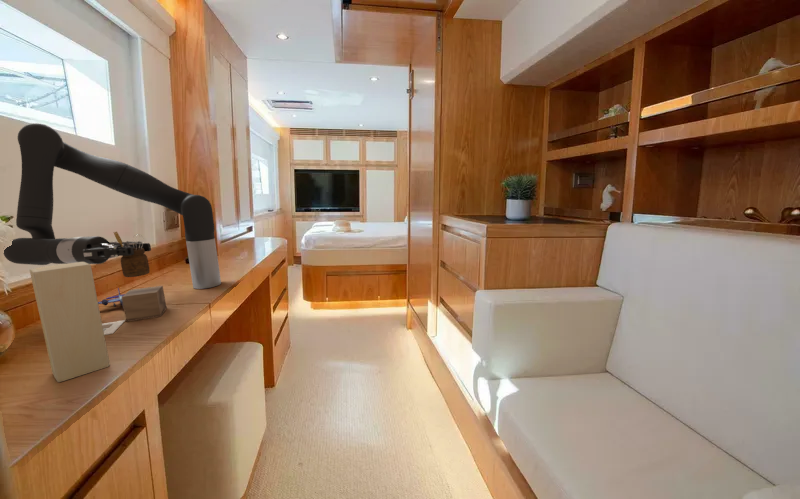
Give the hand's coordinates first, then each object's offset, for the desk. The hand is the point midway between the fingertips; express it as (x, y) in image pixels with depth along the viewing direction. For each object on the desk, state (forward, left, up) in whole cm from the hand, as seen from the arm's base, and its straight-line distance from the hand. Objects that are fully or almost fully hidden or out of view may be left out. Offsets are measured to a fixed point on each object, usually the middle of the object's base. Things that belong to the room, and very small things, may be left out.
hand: (141, 249), depth 95 cm
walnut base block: (-5, -2, -20) cm, 20 cm away
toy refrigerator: (+28, -6, -20) cm, 35 cm away
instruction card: (+3, -10, -20) cm, 22 cm away
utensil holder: (-1, -2, -7) cm, 8 cm away
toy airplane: (-18, -11, -20) cm, 29 cm away
